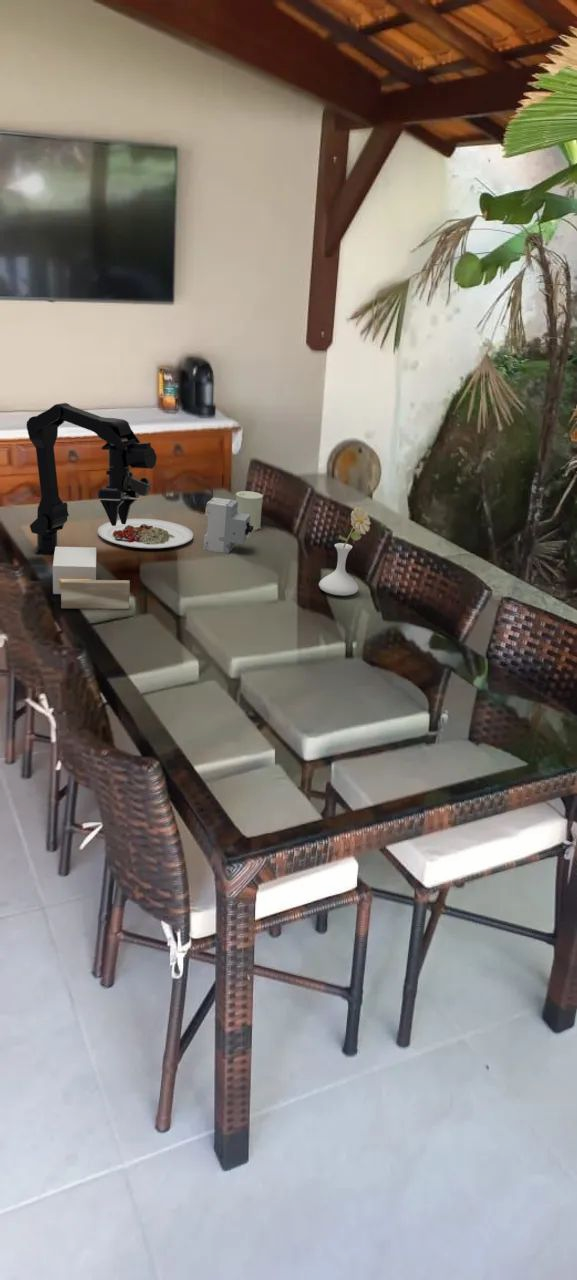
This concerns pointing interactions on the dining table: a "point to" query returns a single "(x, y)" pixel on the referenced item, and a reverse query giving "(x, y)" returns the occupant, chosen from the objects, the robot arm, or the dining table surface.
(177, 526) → the plated food
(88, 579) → the rail latch
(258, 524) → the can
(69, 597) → the board
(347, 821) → the dining table surface
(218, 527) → the circuit breaker
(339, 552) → the flower in vase
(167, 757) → the dining table surface
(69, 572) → the box
